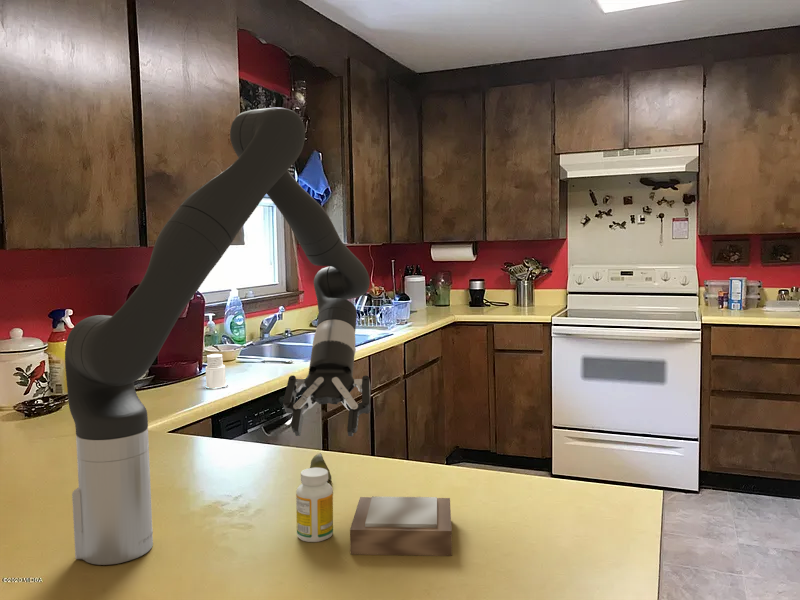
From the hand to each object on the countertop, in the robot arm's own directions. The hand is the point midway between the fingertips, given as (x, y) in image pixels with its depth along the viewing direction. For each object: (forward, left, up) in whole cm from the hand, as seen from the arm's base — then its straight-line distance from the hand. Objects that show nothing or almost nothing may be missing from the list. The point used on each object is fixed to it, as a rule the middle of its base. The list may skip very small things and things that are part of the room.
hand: (323, 433), depth 106 cm
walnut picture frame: (+13, -9, -13) cm, 20 cm away
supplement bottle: (0, -9, -13) cm, 16 cm away
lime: (-3, +14, -13) cm, 19 cm away
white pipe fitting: (-50, +95, -13) cm, 108 cm away
